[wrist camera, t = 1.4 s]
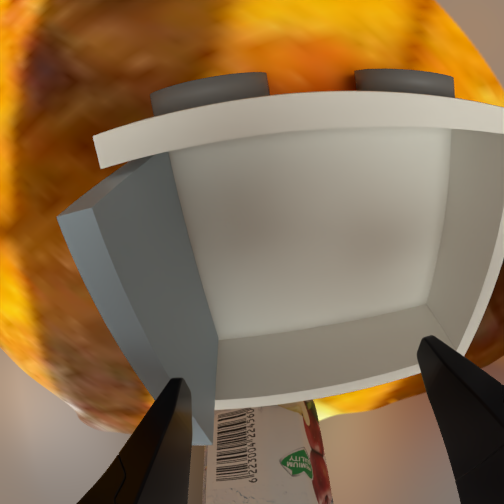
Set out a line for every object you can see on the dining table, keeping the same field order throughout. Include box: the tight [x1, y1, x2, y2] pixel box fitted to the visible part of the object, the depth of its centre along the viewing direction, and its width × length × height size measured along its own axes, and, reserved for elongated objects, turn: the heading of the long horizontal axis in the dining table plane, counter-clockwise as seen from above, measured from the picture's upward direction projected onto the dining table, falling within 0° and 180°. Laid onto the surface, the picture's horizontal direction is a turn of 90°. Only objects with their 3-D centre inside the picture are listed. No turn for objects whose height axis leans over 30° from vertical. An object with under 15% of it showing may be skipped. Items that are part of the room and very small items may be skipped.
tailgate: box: [57, 152, 219, 445], centre depth 13 cm, size 2×13×8 cm, turn 8°
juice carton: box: [203, 399, 333, 504], centre depth 18 cm, size 9×10×27 cm
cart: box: [93, 69, 504, 410], centre depth 16 cm, size 18×18×10 cm
